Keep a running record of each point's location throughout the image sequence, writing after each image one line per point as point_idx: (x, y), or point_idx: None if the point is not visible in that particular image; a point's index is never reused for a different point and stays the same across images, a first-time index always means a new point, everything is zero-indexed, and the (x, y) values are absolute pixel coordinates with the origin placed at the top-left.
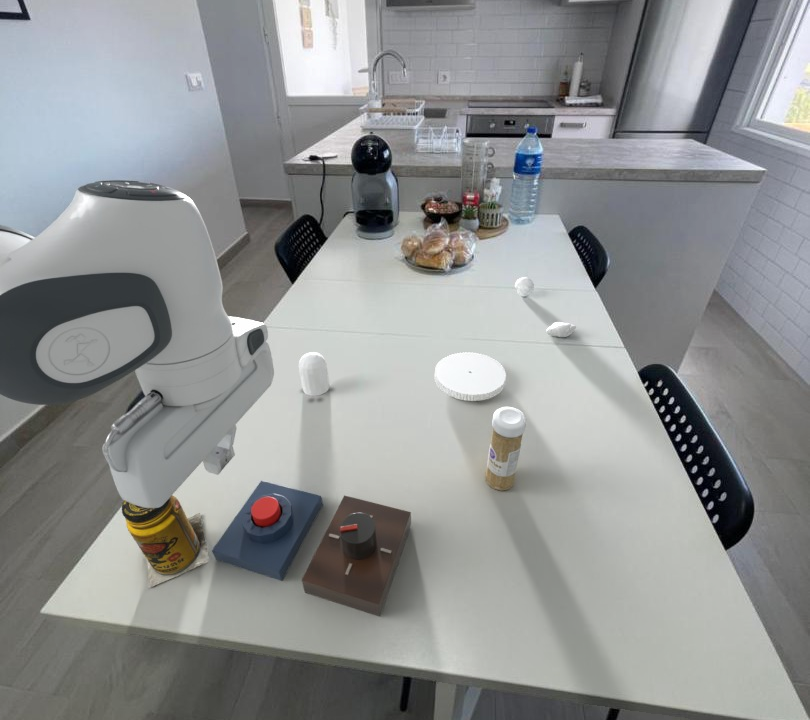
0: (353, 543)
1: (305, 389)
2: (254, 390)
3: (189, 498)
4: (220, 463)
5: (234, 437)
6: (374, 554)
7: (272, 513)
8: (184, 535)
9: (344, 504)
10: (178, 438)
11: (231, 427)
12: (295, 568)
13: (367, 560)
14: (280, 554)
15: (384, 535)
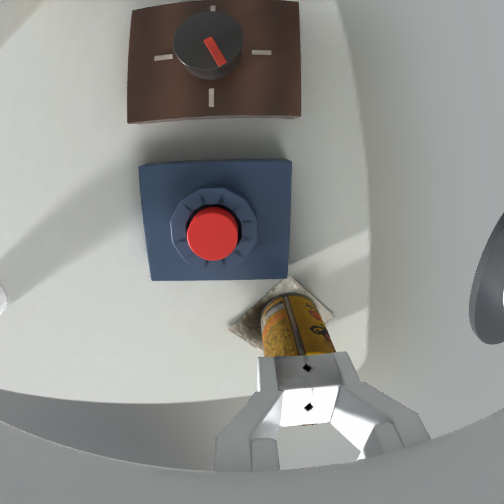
0: (242, 33)
1: (2, 305)
2: (31, 500)
3: (212, 352)
4: (338, 374)
5: (241, 410)
6: None
7: (218, 216)
8: (297, 323)
9: (145, 112)
10: None
11: (289, 481)
12: (263, 149)
13: None
14: (264, 174)
15: None
